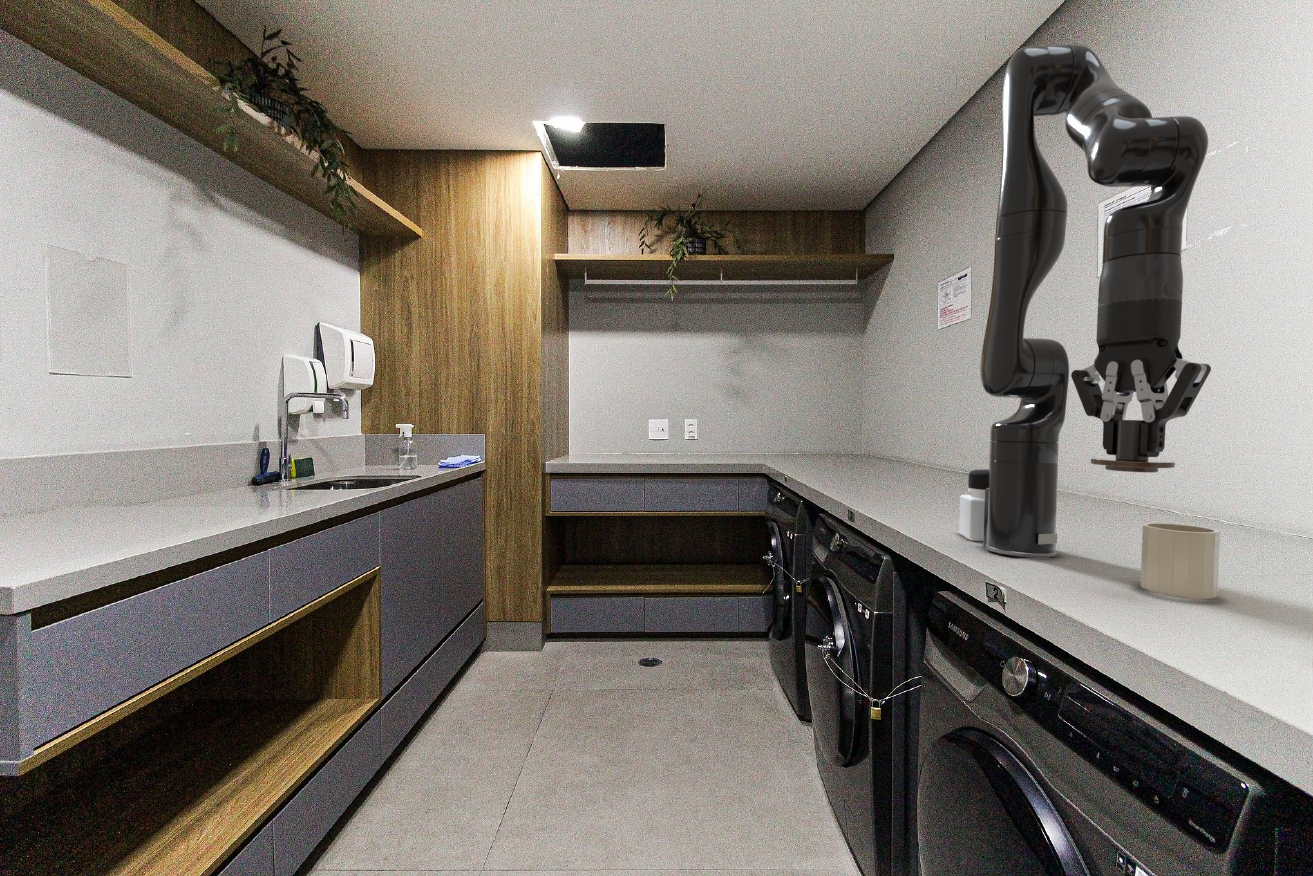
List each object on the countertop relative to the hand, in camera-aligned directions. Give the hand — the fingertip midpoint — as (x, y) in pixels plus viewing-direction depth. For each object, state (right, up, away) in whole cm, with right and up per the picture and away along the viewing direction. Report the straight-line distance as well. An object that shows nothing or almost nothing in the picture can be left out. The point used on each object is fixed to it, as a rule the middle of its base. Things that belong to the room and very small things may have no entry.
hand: (1131, 455), depth 72 cm
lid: (0, -1, 0) cm, 1 cm away
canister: (+8, -17, +4) cm, 19 cm away
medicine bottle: (+4, -16, +39) cm, 43 cm away
